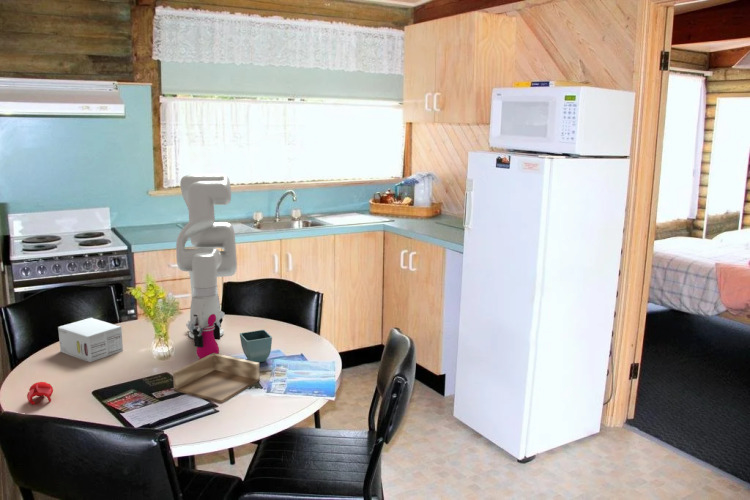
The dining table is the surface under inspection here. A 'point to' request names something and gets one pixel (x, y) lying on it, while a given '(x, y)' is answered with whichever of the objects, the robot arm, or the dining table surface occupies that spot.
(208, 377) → the board
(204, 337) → the pepper mill
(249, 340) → the flower pot
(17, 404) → the dining table surface
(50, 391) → the red curved piece
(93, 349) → the supplement box
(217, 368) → the corner fence
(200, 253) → the robot arm
